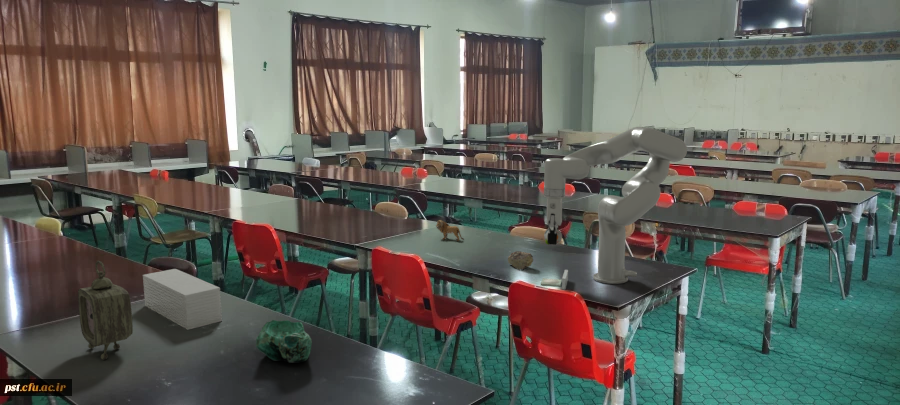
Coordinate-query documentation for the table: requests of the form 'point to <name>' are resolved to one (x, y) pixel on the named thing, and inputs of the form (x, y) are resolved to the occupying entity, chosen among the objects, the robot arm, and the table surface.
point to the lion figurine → (448, 229)
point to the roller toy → (559, 236)
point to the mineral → (284, 341)
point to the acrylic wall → (564, 279)
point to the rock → (520, 259)
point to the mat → (551, 282)
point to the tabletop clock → (104, 313)
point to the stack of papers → (182, 298)
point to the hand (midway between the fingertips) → (552, 241)
